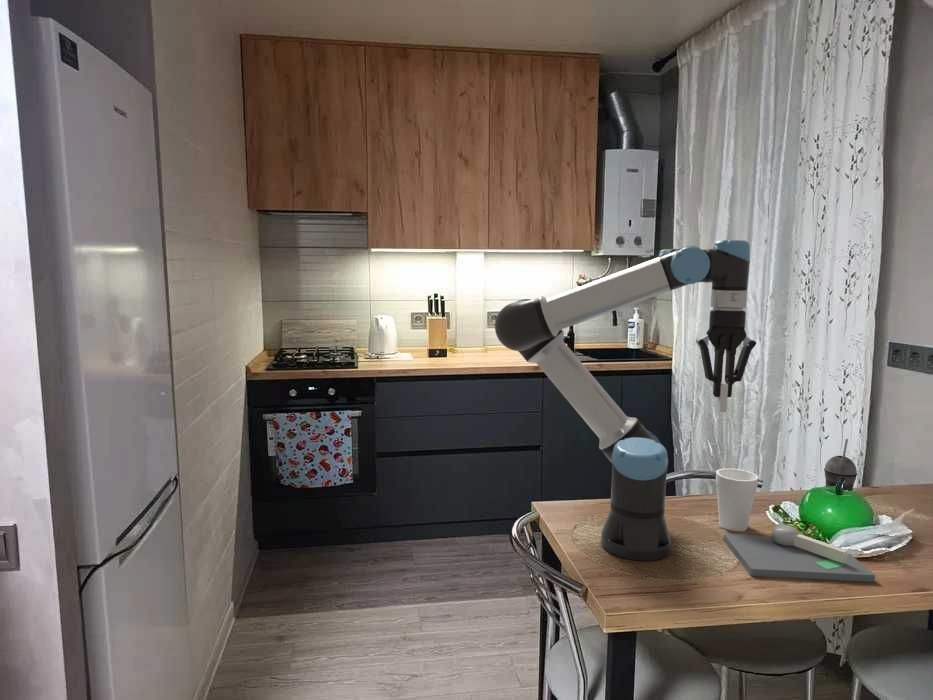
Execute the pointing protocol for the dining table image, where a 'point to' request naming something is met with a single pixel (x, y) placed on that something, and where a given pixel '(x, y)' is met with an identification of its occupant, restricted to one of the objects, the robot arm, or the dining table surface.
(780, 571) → the board
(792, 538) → the white knobbed bar
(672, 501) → the dining table surface
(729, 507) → the foam cup
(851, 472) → the beverage cup
